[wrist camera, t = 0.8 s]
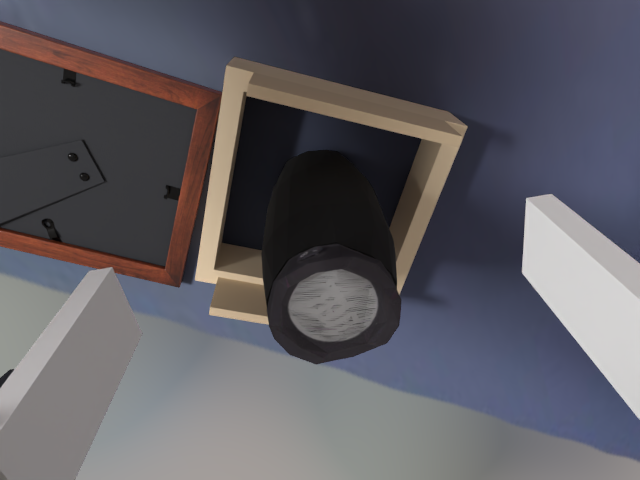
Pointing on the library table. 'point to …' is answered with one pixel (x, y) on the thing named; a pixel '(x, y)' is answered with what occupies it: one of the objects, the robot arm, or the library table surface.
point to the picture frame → (100, 157)
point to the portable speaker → (328, 261)
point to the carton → (336, 101)
